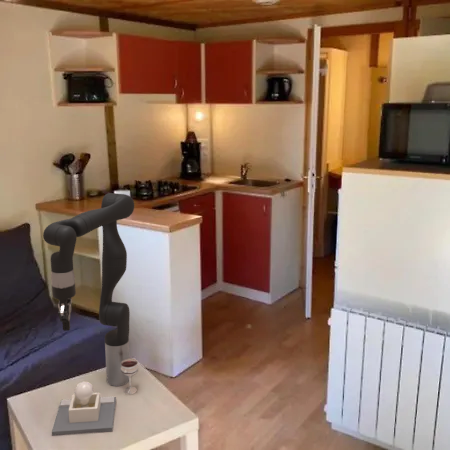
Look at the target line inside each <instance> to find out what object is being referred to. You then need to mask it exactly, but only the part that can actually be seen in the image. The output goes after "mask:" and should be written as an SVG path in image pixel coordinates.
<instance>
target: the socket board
mask: <svg viewBox="0 0 450 450" xmlns="http://www.w3.org/2000/svg"><path fill="white" fill-rule="evenodd" d="M93 403H95V407H86V408H76V405H77V404H81V403H80V401H79V399H78V398H77V397H76V396H75V393H73V394H72V395H71V398H65V399H61V400H60V402H59V406H58V408H57V413H56V416H55V420H54V421H53V422H54V423H53V427H52V430H51V436H67V435H69V436H70V435H80V434H82V435H83V434H93V433H94V434H95V433H108V432H110V433H111V432H113V430H114V421H115V411H116V405H117V404H116V403H117V397H116V396H115V395H114V396H113V395H112V396H101V393H100V392H93V394H92V396H91V397H90V399H89V404H93Z"/></svg>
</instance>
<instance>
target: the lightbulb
mask: <svg viewBox="0 0 450 450" xmlns="http://www.w3.org/2000/svg"><path fill="white" fill-rule="evenodd" d="M93 393H94V386H93V384H92V383H90V382H89V381H79V382H78V383H77V384H76V385H75V388H74V393H73V394H75V396H76V397H77V398H78V399H79V401H80V403H81V408H86V407H89V399H90V397H91V396H92V394H93Z"/></svg>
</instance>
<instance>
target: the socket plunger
mask: <svg viewBox="0 0 450 450" xmlns="http://www.w3.org/2000/svg"><path fill="white" fill-rule="evenodd" d="M89 407H95V403H93V404H89ZM76 408H81V404H77V405H76Z"/></svg>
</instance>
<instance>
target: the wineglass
mask: <svg viewBox="0 0 450 450" xmlns="http://www.w3.org/2000/svg"><path fill="white" fill-rule="evenodd" d="M138 361H139V360H137V359H136V358H132V357H131V358H130V357H129V359H125V360H123V361H122V362H121V363H120V364H121V368H120V369H121V372H122V373H123V374H124V375H125V376H128V377H129V382H128V384H129V386H127V387H126V388H124V389H123V393H124V394H126V395H133V394H135V393H136V392H137V390H138V389H137V387H135V386H132V383H131V382H132V381H131V380H132V379H131V378H132V376H134V375H135V374H137V373H138V371H139V362H138Z"/></svg>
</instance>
